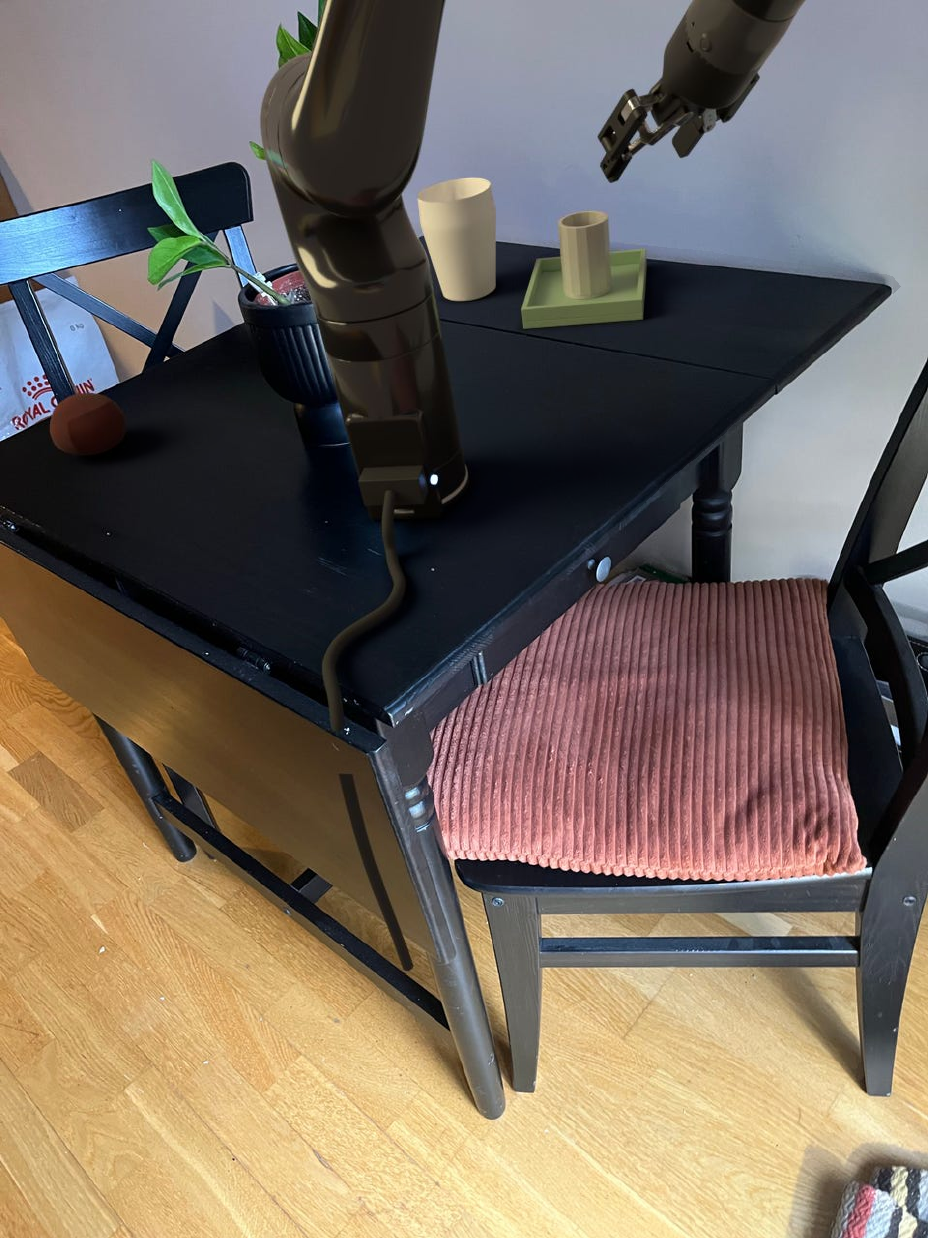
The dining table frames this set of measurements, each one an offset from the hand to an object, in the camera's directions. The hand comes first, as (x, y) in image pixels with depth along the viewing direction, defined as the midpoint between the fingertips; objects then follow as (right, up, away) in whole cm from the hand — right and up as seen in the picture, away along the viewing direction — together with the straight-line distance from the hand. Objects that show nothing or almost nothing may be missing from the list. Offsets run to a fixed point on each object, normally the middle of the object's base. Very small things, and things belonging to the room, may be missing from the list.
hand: (643, 161), depth 89 cm
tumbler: (-3, -6, +18) cm, 19 cm away
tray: (-3, -7, +18) cm, 20 cm away
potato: (-56, -27, +8) cm, 62 cm away
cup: (-17, -4, +26) cm, 31 cm away
